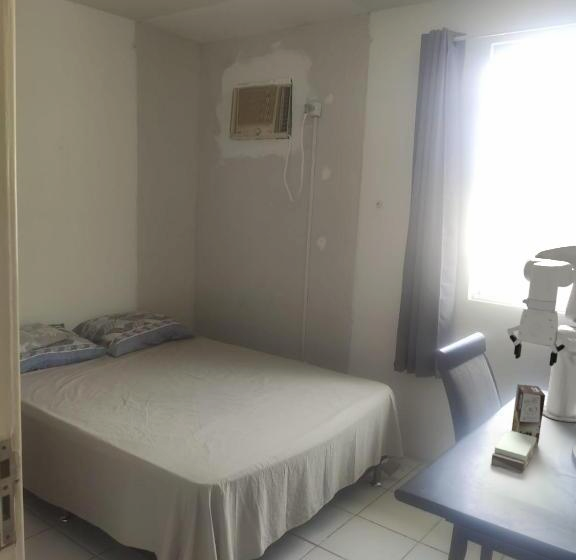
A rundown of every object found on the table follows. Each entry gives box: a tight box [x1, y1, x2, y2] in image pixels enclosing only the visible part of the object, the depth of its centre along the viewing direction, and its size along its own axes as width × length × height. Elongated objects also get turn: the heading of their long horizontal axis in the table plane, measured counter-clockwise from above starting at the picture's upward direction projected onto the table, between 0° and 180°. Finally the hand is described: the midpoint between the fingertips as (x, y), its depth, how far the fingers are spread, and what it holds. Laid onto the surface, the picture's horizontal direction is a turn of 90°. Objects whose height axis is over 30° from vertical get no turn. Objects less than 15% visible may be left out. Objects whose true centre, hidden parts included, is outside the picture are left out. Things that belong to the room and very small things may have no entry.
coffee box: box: [511, 384, 546, 448], centre depth 172 cm, size 9×6×16 cm
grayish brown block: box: [490, 444, 535, 475], centre depth 159 cm, size 18×8×3 cm, turn 147°
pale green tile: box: [493, 429, 536, 461], centre depth 160 cm, size 16×8×2 cm, turn 147°
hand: (534, 361), depth 168 cm, fingers open, 9 cm apart
